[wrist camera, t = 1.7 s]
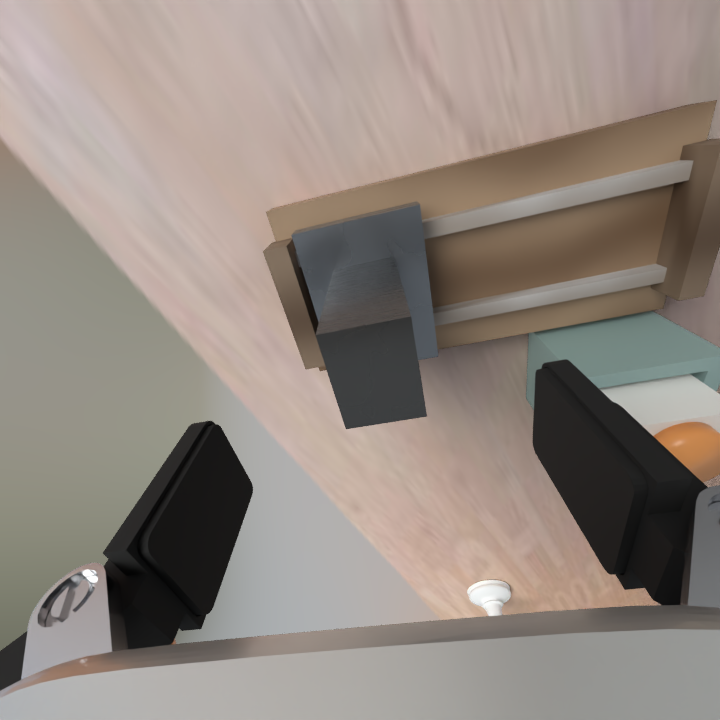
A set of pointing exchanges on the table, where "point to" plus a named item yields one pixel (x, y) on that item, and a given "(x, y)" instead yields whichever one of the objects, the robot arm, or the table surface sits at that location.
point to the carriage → (371, 310)
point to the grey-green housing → (625, 351)
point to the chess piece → (490, 595)
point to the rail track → (541, 230)
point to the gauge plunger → (677, 418)
